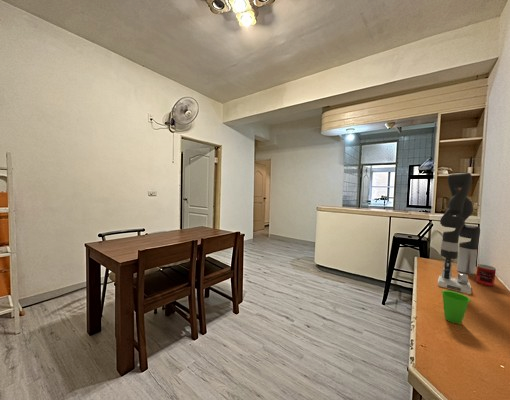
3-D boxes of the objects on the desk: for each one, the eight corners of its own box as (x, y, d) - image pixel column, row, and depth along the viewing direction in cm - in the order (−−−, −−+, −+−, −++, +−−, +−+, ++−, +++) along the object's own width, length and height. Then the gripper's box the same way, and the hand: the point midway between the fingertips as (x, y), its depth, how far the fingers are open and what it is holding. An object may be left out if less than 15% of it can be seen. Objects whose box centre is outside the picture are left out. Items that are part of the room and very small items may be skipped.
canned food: (485, 281, 137) (487, 264, 137) (498, 287, 129) (500, 269, 129) (472, 280, 138) (473, 263, 137) (483, 286, 130) (485, 268, 129)
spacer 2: (457, 280, 128) (457, 272, 128) (467, 283, 125) (468, 274, 125) (456, 282, 125) (457, 274, 125) (467, 285, 122) (468, 276, 122)
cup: (460, 317, 95) (462, 292, 94) (473, 329, 86) (476, 302, 85) (435, 312, 97) (437, 288, 97) (445, 324, 89) (447, 298, 88)
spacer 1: (441, 275, 133) (442, 267, 133) (451, 278, 130) (452, 269, 130) (441, 277, 130) (442, 269, 130) (451, 280, 127) (452, 271, 127)
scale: (438, 279, 138) (439, 274, 137) (469, 286, 128) (470, 281, 128) (437, 285, 127) (437, 280, 127) (471, 294, 117) (471, 289, 117)
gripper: (441, 245, 137) (438, 272, 138) (440, 249, 126) (437, 278, 127) (457, 248, 132) (455, 276, 133) (458, 253, 121) (454, 282, 122)
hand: (446, 277), depth 130 cm, fingers closed on spacer 1, 4 cm apart
